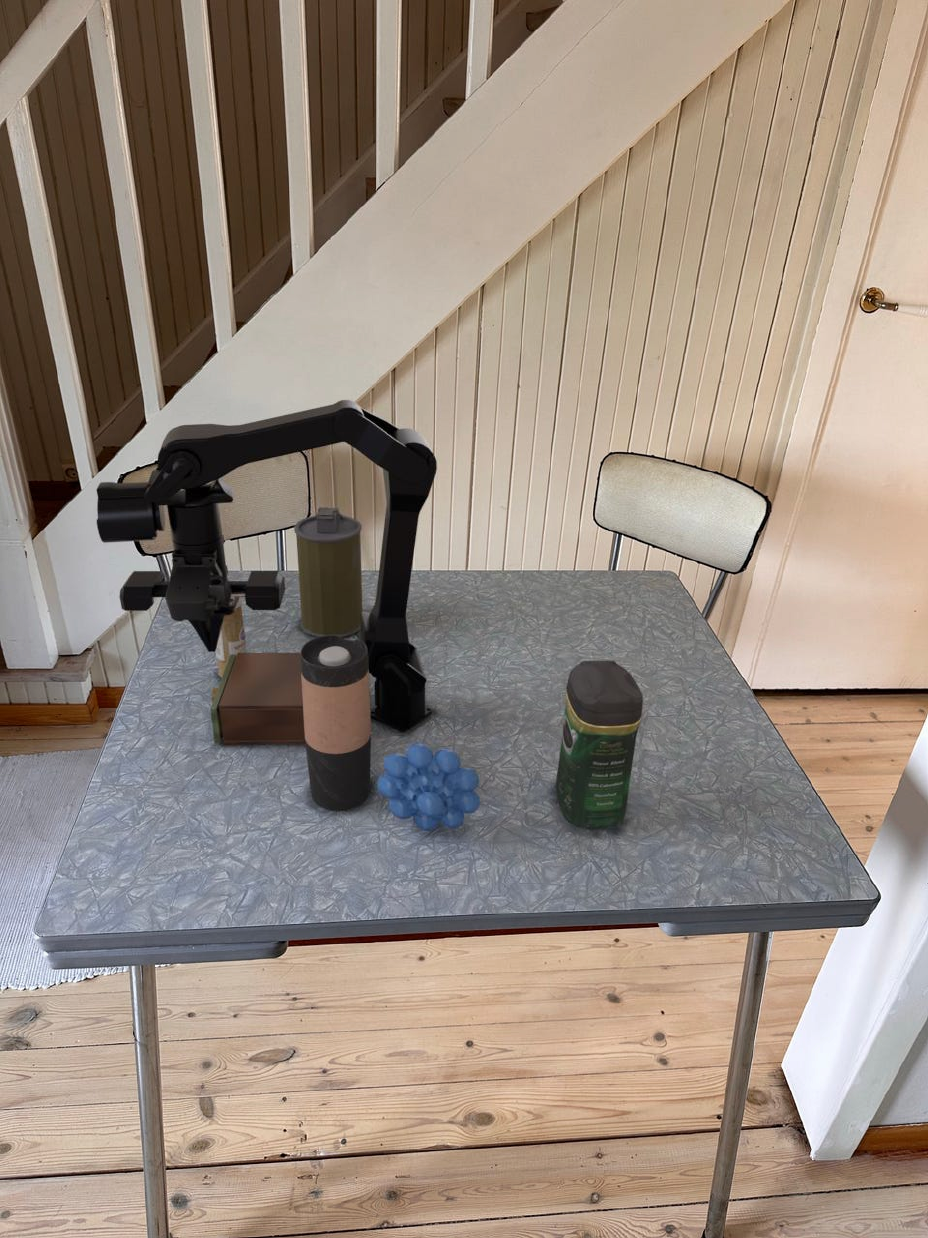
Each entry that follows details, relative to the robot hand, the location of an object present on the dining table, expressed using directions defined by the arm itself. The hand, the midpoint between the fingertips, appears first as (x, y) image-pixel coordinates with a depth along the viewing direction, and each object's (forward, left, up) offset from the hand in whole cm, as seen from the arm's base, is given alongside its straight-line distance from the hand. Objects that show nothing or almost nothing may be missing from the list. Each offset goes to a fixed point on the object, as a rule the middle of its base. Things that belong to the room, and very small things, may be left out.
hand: (212, 650), depth 106 cm
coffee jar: (-46, -18, -13) cm, 51 cm away
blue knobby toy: (-34, -2, -13) cm, 36 cm away
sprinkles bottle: (+10, -10, -13) cm, 19 cm away
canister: (+10, -31, -13) cm, 35 cm away
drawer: (-2, -6, -12) cm, 14 cm away
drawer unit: (-3, -7, -13) cm, 15 cm away
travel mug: (-21, -1, -13) cm, 25 cm away
